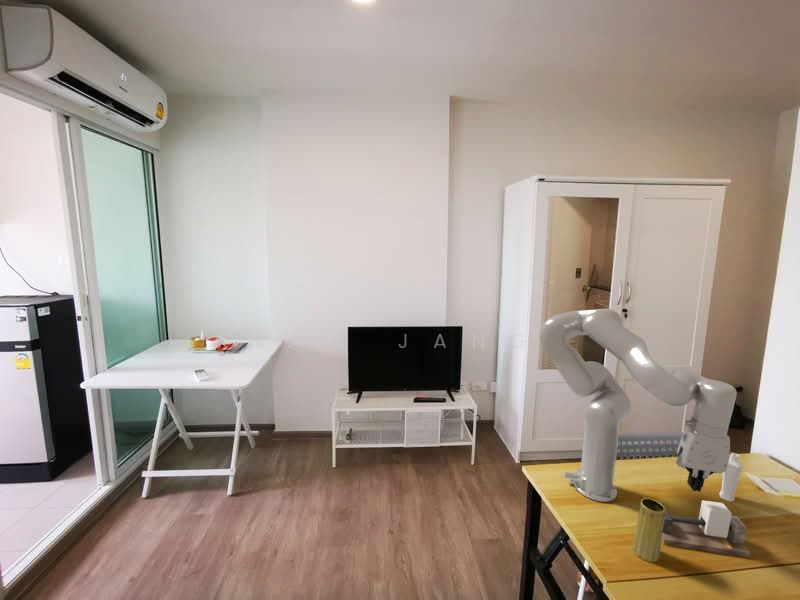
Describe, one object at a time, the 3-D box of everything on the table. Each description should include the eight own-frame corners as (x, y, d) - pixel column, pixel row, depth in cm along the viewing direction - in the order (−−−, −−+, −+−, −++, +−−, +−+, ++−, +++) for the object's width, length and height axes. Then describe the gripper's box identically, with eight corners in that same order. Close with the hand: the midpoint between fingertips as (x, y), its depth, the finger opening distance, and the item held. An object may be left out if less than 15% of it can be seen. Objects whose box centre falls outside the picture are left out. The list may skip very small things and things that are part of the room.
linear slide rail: (663, 544, 104) (667, 523, 102) (648, 517, 113) (651, 497, 112) (749, 558, 100) (754, 536, 98) (726, 528, 109) (730, 508, 108)
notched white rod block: (705, 534, 104) (710, 510, 102) (697, 523, 108) (702, 500, 106) (726, 538, 103) (731, 513, 101) (718, 526, 107) (722, 503, 105)
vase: (659, 566, 97) (667, 517, 94) (631, 555, 100) (638, 507, 97) (658, 549, 102) (666, 502, 99) (632, 539, 105) (638, 493, 102)
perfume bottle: (713, 492, 124) (721, 450, 121) (725, 492, 124) (734, 450, 122) (726, 502, 120) (734, 459, 117) (739, 502, 120) (748, 458, 117)
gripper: (683, 430, 98) (669, 492, 102) (751, 439, 95) (734, 502, 100) (670, 416, 106) (657, 474, 110) (732, 423, 103) (717, 483, 107)
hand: (693, 487), depth 105 cm, fingers closed
